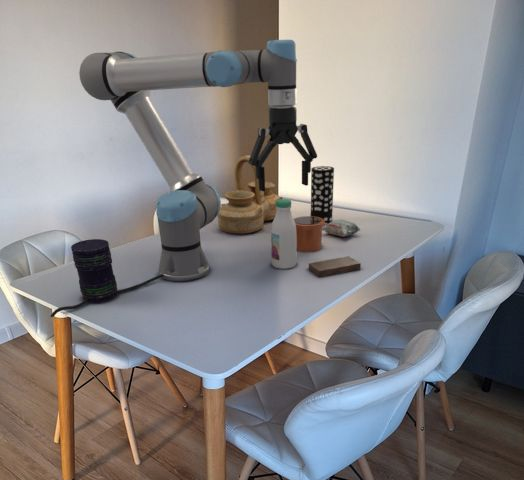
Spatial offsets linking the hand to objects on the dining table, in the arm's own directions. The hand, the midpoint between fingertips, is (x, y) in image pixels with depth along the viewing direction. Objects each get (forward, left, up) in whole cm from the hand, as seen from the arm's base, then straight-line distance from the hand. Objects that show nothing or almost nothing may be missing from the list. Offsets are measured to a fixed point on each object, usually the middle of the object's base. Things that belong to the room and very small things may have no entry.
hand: (283, 187), depth 148 cm
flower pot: (+14, +12, -24) cm, 30 cm away
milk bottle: (0, 0, -24) cm, 24 cm away
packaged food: (+30, +18, -24) cm, 42 cm away
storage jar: (-56, +1, -24) cm, 61 cm away
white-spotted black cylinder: (+32, +36, -24) cm, 54 cm away
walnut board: (+12, -10, -24) cm, 28 cm away
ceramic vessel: (+7, +47, -24) cm, 54 cm away
